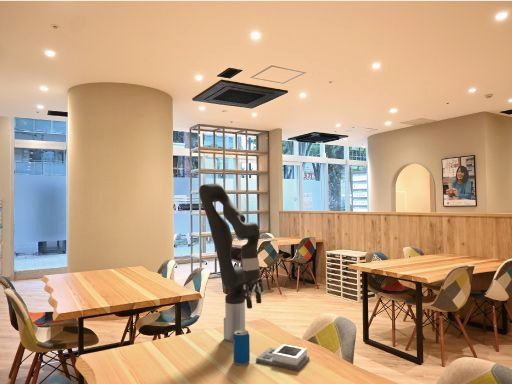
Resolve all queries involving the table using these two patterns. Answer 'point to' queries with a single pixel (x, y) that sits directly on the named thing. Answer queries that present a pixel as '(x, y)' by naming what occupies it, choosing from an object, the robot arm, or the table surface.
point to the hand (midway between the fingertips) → (254, 305)
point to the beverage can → (241, 347)
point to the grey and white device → (285, 357)
